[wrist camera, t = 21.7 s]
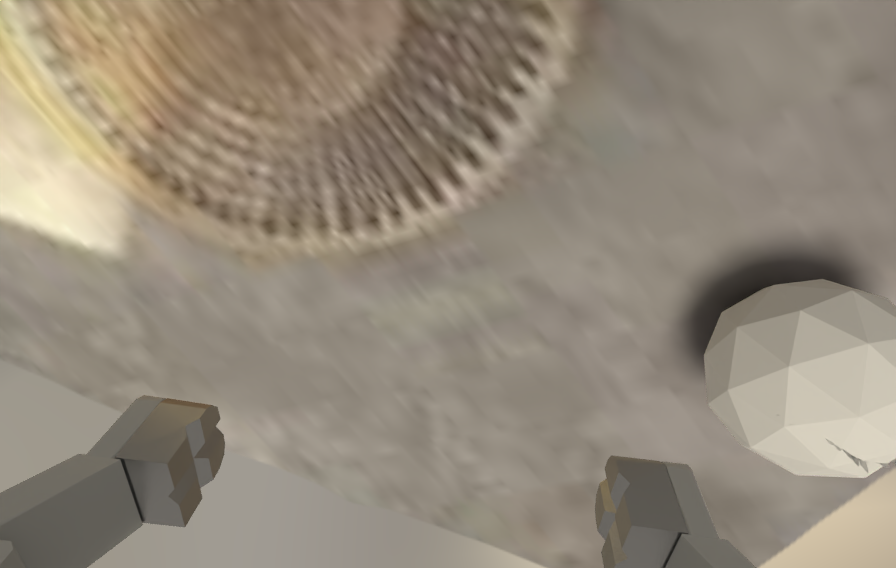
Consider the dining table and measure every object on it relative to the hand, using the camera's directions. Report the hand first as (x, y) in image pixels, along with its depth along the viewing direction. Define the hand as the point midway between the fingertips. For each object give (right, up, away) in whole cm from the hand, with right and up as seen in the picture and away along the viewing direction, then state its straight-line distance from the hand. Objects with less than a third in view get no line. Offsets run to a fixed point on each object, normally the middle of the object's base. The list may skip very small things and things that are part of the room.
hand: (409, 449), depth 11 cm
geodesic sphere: (+27, 0, +31) cm, 41 cm away
